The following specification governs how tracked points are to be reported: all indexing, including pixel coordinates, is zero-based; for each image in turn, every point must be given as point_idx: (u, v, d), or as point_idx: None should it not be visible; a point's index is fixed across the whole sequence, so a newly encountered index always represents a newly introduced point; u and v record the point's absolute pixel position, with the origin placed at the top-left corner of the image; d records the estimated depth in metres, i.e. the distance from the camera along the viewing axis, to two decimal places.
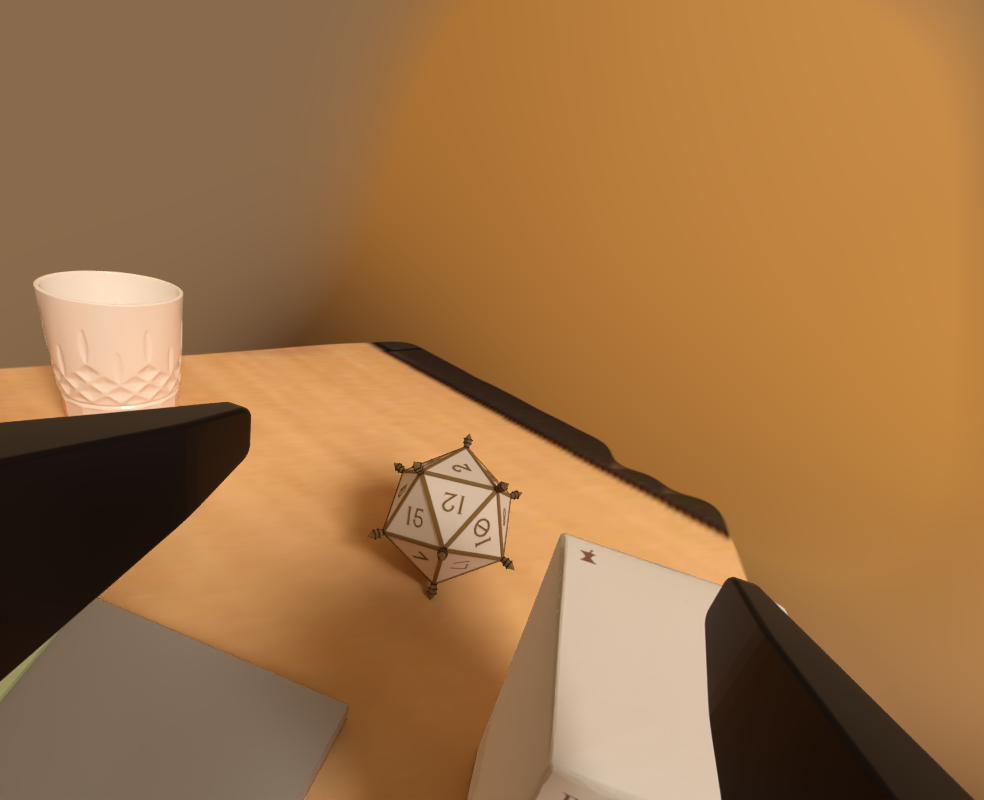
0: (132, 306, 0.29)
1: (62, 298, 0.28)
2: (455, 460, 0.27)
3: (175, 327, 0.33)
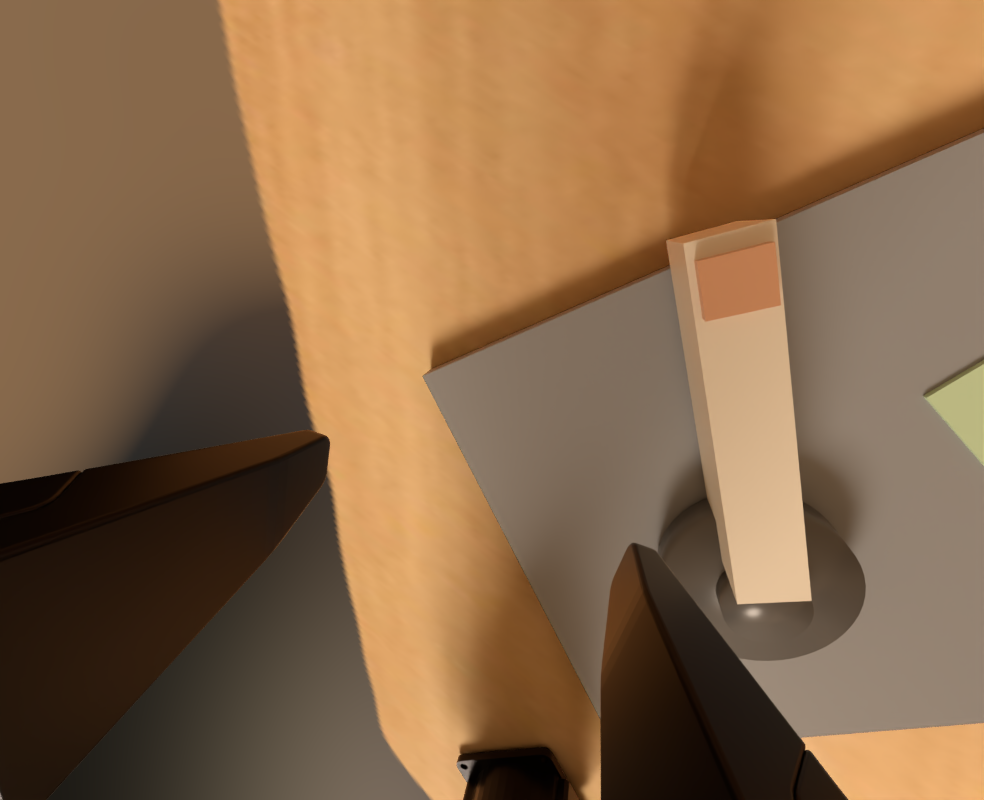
0: None
1: None
2: None
3: None
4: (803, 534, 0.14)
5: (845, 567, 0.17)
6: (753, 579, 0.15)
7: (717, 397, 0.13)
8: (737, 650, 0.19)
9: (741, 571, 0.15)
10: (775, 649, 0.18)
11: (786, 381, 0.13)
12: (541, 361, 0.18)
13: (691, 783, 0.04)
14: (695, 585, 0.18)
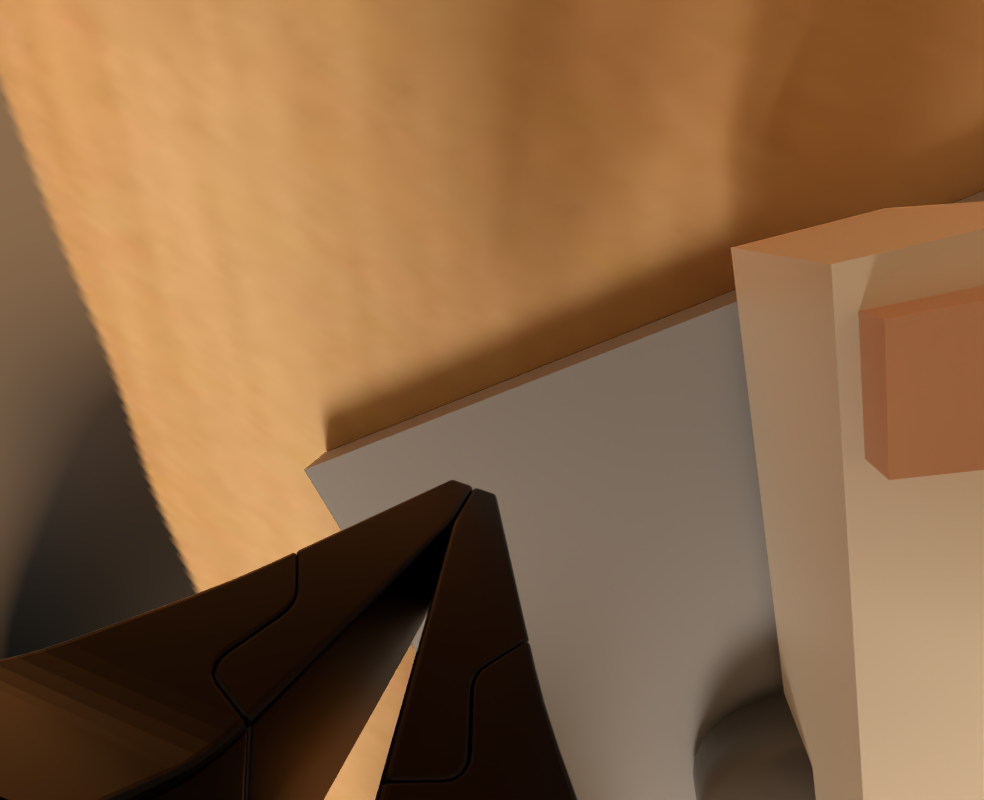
0: None
1: None
2: None
3: None
4: None
5: None
6: None
7: (882, 633, 0.06)
8: None
9: None
10: None
11: None
12: (496, 456, 0.11)
13: None
14: None
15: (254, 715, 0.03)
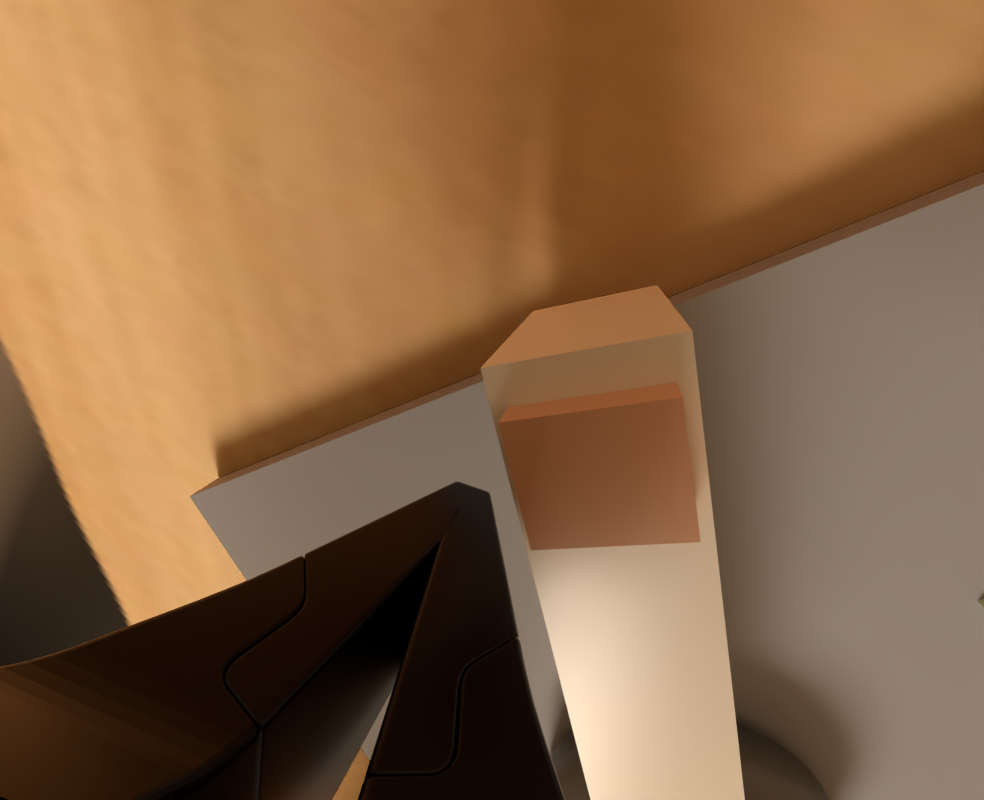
0: None
1: None
2: None
3: None
4: None
5: None
6: None
7: (579, 673, 0.06)
8: None
9: None
10: None
11: (720, 671, 0.06)
12: (350, 490, 0.12)
13: None
14: None
15: (265, 720, 0.03)
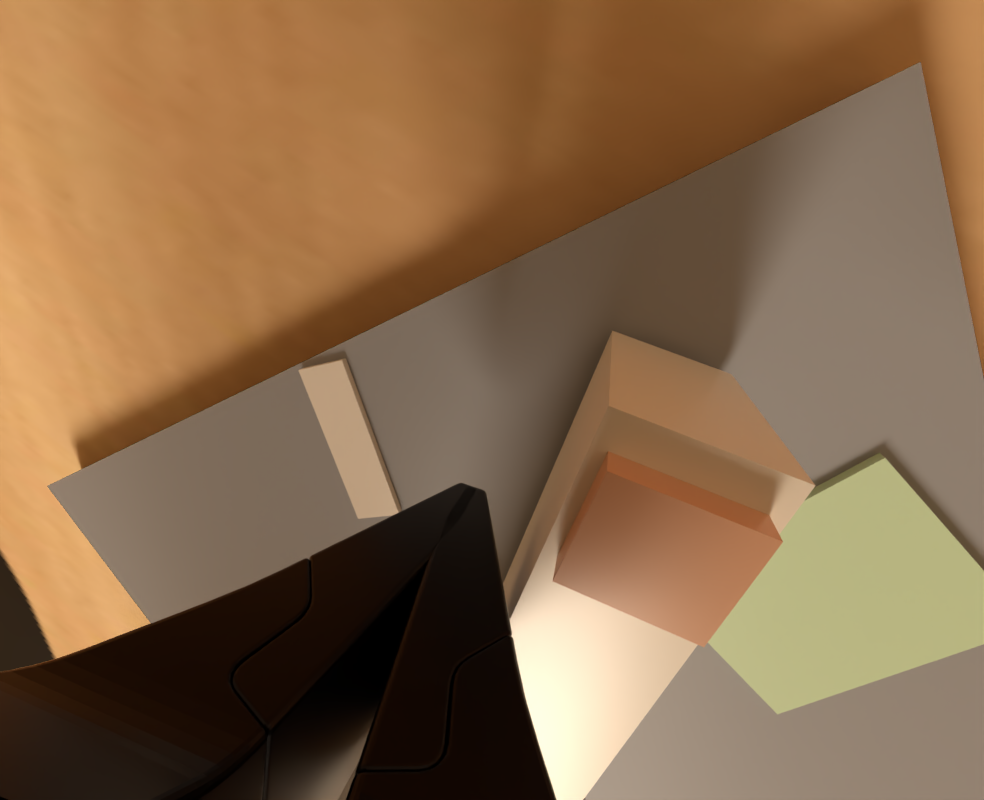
0: None
1: None
2: None
3: None
4: None
5: None
6: None
7: None
8: None
9: None
10: None
11: (626, 727, 0.06)
12: (169, 481, 0.13)
13: None
14: None
15: (274, 723, 0.03)
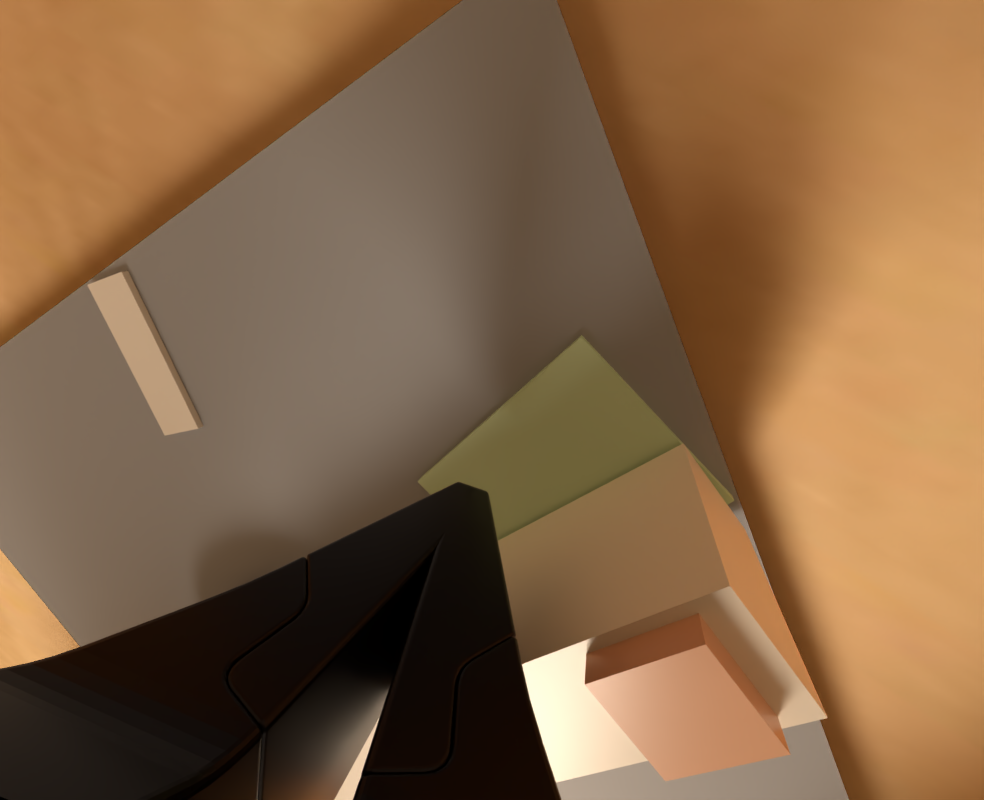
0: None
1: None
2: None
3: None
4: None
5: None
6: None
7: None
8: None
9: None
10: None
11: None
12: (1, 410, 0.14)
13: None
14: None
15: (268, 721, 0.03)
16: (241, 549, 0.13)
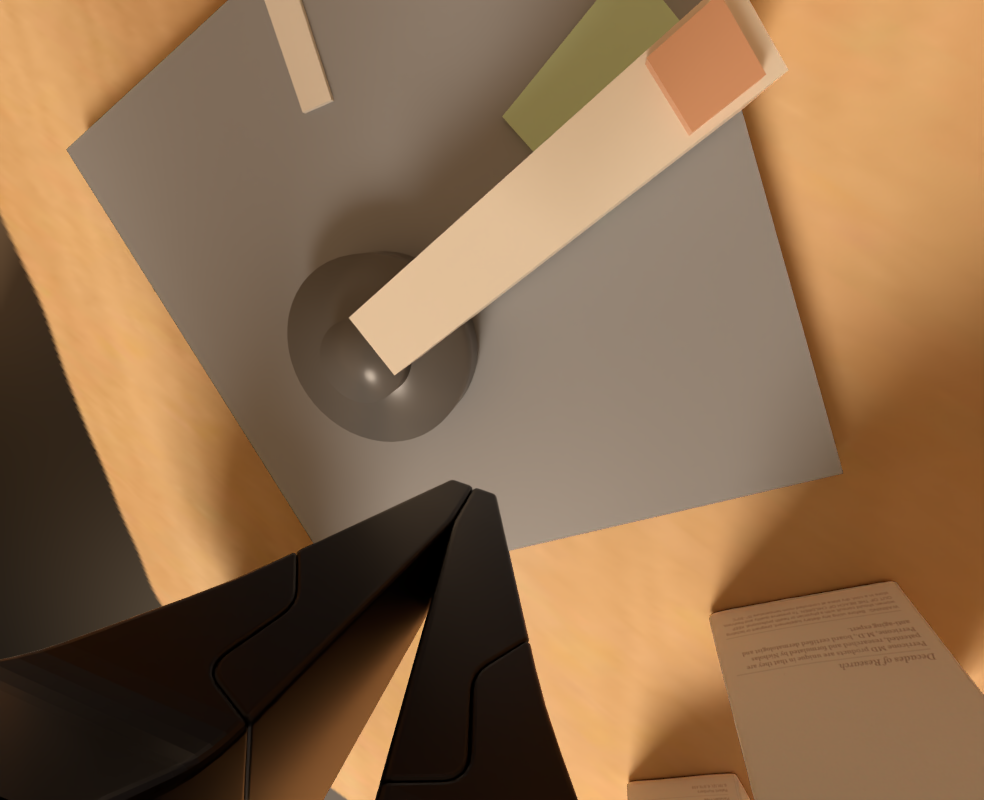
0: None
1: None
2: None
3: None
4: (454, 326, 0.13)
5: (439, 406, 0.17)
6: (382, 315, 0.14)
7: (558, 146, 0.11)
8: (305, 374, 0.18)
9: (384, 299, 0.13)
10: (328, 402, 0.18)
11: (604, 206, 0.11)
12: (162, 117, 0.17)
13: None
14: (341, 297, 0.16)
15: (254, 715, 0.03)
16: (352, 221, 0.17)
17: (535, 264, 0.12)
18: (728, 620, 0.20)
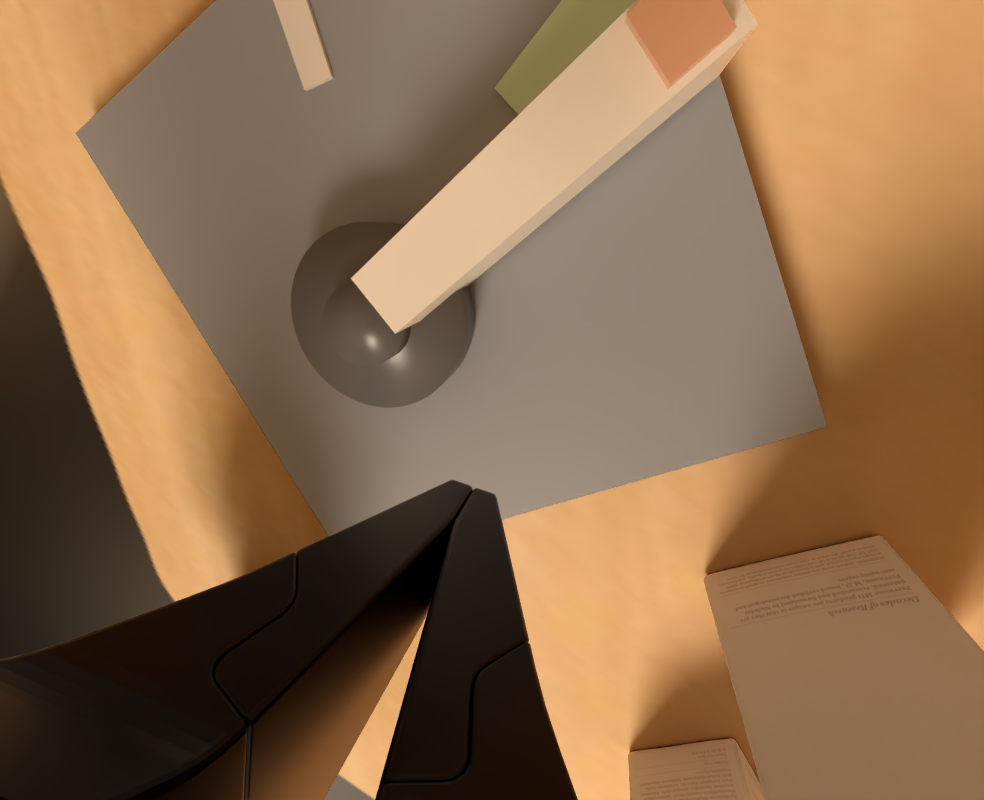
0: None
1: None
2: None
3: None
4: (451, 283, 0.14)
5: (438, 369, 0.17)
6: (383, 274, 0.14)
7: (546, 104, 0.12)
8: (308, 343, 0.18)
9: (384, 259, 0.14)
10: (330, 370, 0.19)
11: (591, 159, 0.12)
12: (169, 99, 0.18)
13: None
14: (343, 266, 0.17)
15: (254, 715, 0.03)
16: (352, 194, 0.18)
17: (527, 218, 0.13)
18: (722, 580, 0.20)
